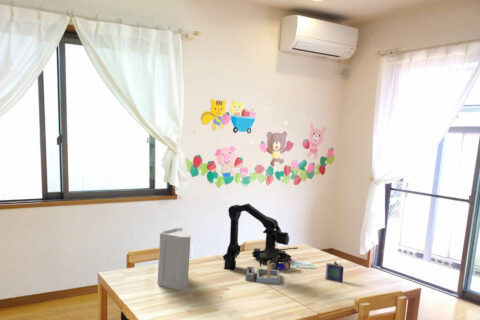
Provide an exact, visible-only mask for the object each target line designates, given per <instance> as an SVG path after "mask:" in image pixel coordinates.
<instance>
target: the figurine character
mask: <svg viewBox="0 0 480 320" xmlns="http://www.w3.org/2000/svg"><path fill="white" fill-rule="evenodd" d="M292 261H293V258H292V257H291V258H290V257H288V256H286V258H285V259H284V258H283V260H281V261H280V262H283V263H279V265H278V267H277V269H276V263H277V257H276V258H272V261H271V260H269V261H267V266H268V263H269V264H270V269H271V270H282V269H285V270H289V269H290V268H291V265H292V264H291V262H292Z"/></svg>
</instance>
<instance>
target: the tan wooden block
mask: <svg viewBox="0 0 480 320" xmlns="http://www.w3.org/2000/svg"><path fill="white" fill-rule="evenodd" d="M266 267H267V268H266V269H267V274H266V277H267V278H270V275H269V272H270V269H271V267H270V264H269V263H268V265H267V266H266Z"/></svg>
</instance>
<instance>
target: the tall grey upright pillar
mask: <svg viewBox="0 0 480 320" xmlns="http://www.w3.org/2000/svg"><path fill="white" fill-rule="evenodd" d="M158 246H159V249H158V264H157V265H158V267H157V282H156V283H157V285H158V286H160V287H164V288H168V289H173V290H176V291H187V290H189V289H188V287H189V286H188V285H189V267H190V253H191V252H190V251H191V250H190V249H191V235H190V232H189V231H188V229H187V227H182V226H181V227H180V226H179V227H174V228H170V229H165V230H161V231H159V245H158Z"/></svg>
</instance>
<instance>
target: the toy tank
mask: <svg viewBox="0 0 480 320" xmlns="http://www.w3.org/2000/svg"><path fill="white" fill-rule="evenodd" d="M275 249H277V250H278V252H279V250H280V251H286V250H287V251H288V250H296V249H299V247H288V248H277V247H275ZM261 251H265V248H264V249H262V250H261ZM251 254H252V257H253V258H255V259H257V260H258V258H257V257H256V256H253V254H254V250H253V251H252V252H251ZM286 256H288V257H290V258H291V259H292V255H290V254H289V253H286ZM276 257H278V256H274V258H276ZM269 260H271V261H272V258H266V255H264V254H261V264H263V265H265V266H266V265H267V261H269ZM267 266H268V265H267Z"/></svg>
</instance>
